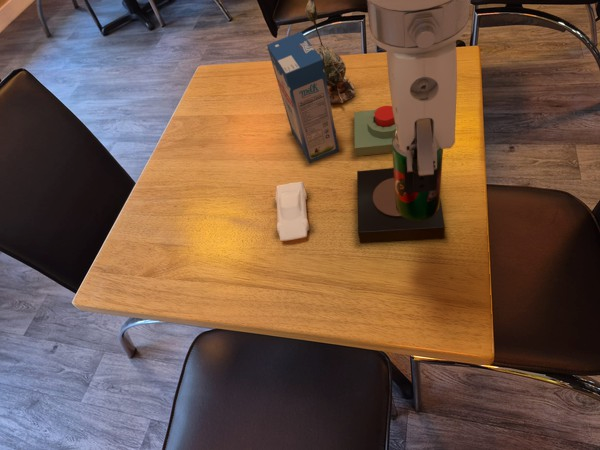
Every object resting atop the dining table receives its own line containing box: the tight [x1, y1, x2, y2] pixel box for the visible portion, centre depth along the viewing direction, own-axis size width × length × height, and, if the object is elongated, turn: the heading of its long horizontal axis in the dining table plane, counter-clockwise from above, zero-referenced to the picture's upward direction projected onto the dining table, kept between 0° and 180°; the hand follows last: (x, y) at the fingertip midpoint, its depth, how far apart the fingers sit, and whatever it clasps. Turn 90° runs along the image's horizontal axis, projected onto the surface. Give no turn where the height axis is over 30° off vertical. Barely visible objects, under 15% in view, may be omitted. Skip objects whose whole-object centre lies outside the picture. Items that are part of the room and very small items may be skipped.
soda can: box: [391, 131, 444, 221], centre depth 48 cm, size 5×5×12 cm
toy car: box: [274, 181, 310, 242], centre depth 75 cm, size 6×12×3 cm, turn 3°
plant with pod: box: [304, 0, 356, 105], centre depth 86 cm, size 8×11×20 cm
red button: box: [375, 105, 395, 127], centre depth 80 cm, size 4×4×2 cm
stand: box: [356, 167, 446, 244], centre depth 72 cm, size 13×13×3 cm
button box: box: [353, 106, 396, 157], centre depth 82 cm, size 12×10×4 cm
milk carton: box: [266, 31, 340, 164], centre depth 79 cm, size 10×6×20 cm, turn 20°
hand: (417, 168), depth 48 cm, fingers closed on soda can, 5 cm apart
